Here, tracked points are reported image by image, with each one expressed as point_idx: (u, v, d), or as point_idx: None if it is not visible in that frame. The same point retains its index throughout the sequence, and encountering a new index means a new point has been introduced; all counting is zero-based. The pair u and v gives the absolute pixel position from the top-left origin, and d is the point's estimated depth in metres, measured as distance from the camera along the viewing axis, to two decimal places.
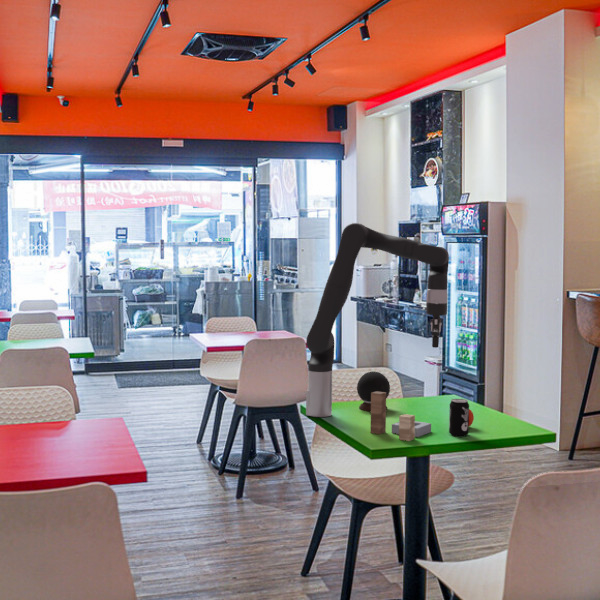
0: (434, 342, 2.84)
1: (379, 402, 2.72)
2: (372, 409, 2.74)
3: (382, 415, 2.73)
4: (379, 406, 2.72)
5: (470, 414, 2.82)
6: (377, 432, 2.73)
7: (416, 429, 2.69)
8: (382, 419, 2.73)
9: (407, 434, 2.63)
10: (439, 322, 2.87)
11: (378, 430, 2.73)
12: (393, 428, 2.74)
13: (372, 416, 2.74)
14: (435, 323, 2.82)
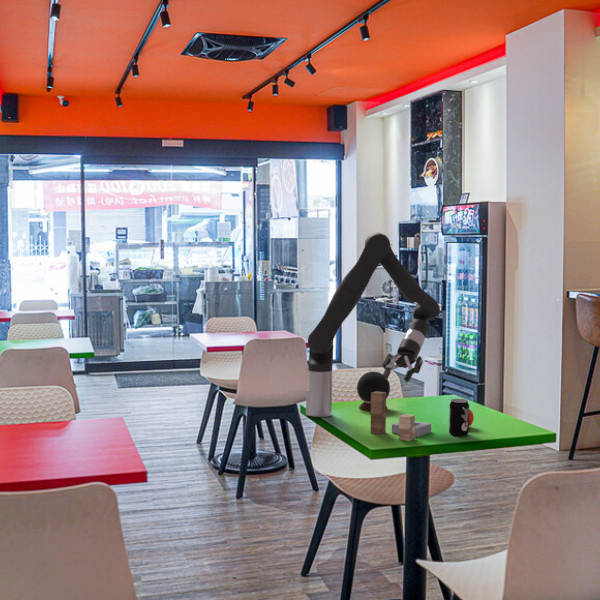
0: (410, 376, 2.81)
1: (379, 402, 2.72)
2: (372, 409, 2.74)
3: (382, 415, 2.73)
4: (379, 406, 2.72)
5: (470, 414, 2.82)
6: (377, 432, 2.73)
7: (416, 429, 2.69)
8: (382, 419, 2.73)
9: (407, 434, 2.63)
10: (410, 362, 2.87)
11: (378, 430, 2.73)
12: (393, 428, 2.74)
13: (372, 416, 2.74)
14: (421, 361, 2.84)
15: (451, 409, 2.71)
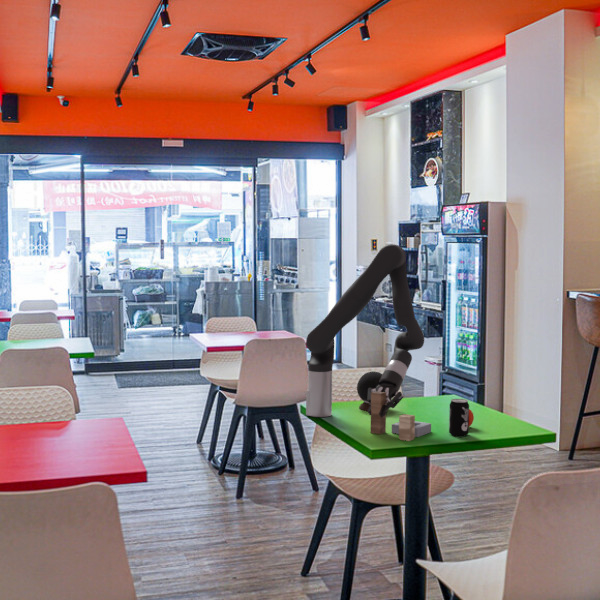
0: (385, 411, 2.72)
1: (379, 402, 2.72)
2: (372, 409, 2.74)
3: None
4: (379, 406, 2.72)
5: (470, 414, 2.82)
6: (377, 432, 2.73)
7: (416, 429, 2.69)
8: (382, 419, 2.73)
9: (407, 434, 2.63)
10: None
11: (378, 430, 2.73)
12: (393, 428, 2.74)
13: (372, 416, 2.74)
14: (400, 397, 2.74)
15: (451, 409, 2.71)
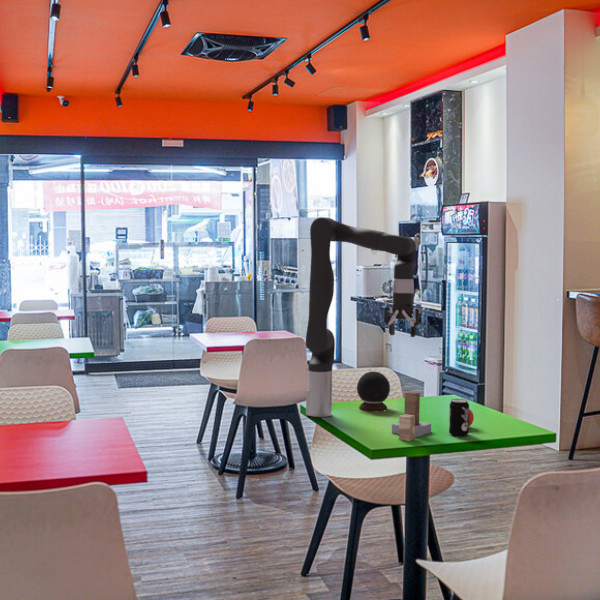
0: (415, 331, 2.85)
1: (413, 402, 2.73)
2: (406, 409, 2.75)
3: (416, 415, 2.74)
4: (413, 406, 2.73)
5: (470, 414, 2.82)
6: None
7: (416, 429, 2.69)
8: (416, 419, 2.74)
9: (408, 434, 2.63)
10: None
11: None
12: (393, 428, 2.74)
13: None
14: (419, 312, 2.84)
15: (451, 409, 2.71)
